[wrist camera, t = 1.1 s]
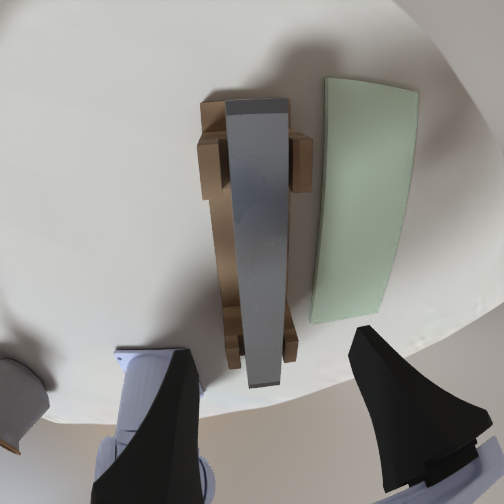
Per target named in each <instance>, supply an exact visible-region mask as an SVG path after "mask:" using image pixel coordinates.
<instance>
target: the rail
mask: <svg viewBox="0 0 504 504" xmlns="http://www.w3.org/2000/svg"><path fill="white" fill-rule="evenodd" d="M225 116H226V132H227V147H228V162H229V176H230V189H231V203H232V215H233V228H234V240H235V252H236V264H237V275H238V287H239V298H240V309H241V319H242V330H243V340H244V350H245V360H246V369H247V377H248V385H249V389H250V388H259V387H267V386H274V385H280V375H281V361H282V346H283V330H284V312H285V291H286V267H287V235H288V171H289V143H288V99H284V98H254V99H234V100H225Z"/></svg>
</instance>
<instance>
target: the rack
mask: <svg viewBox="0 0 504 504" xmlns="http://www.w3.org/2000/svg"><path fill="white" fill-rule="evenodd" d="M200 110H201V123H202V135H201V137H200V140H199V142H198V144H197V152H198V162H199V172H200V181H201V190H202V198H203V200H208V199H209V205H210V213H211V222H212V230H213V238H214V246H215V254H216V262H217V269H218V277H219V284H220V291H221V298H222V305H223V319H224V336H225V351H226V356H227V361H228V367H229V369H240V368H241V362H240V356H243V355H245V350H244V340H243V330H242V319H241V309H240V298H239V287H238V275H237V264H236V252H235V240H234V228H233V215H232V203H231V189H230V176H229V162H228V147H227V132H226V116H225V101H215V102H205V103H200ZM288 143H289V171H288V235H287V267H286V291H285V312H284V330H283V346H282V356H283V360H284V363H288V362H295V361H296V357H297V349H298V341H299V340H298V337H297V334H296V331H295V327H294V324H293V321H292V317H291V314H290V311H289V308H288V304H287V301H286V298H287V277H288V251H289V217H290V190H291V191H292V193H301V192H311V188H312V161H313V139H311V138H309V137H307V136H305V135H303V134H301V133H299V132H297V131H295V130H293V129H292V128H290V99H288Z"/></svg>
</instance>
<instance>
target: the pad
mask: <svg viewBox="0 0 504 504" xmlns="http://www.w3.org/2000/svg"><path fill="white" fill-rule="evenodd" d="M417 115H418V92H414V91H410V90H406V89H401V88H397V87H392V86H387V85H381V84H376V83H370V82H363V81H356V80H349V79H340V78H331V77H326V78H325V133H324V163H323V183H322V200H321V214H320V226H319V238H318V249H317V259H316V268H315V277H314V286H313V294H312V302H311V309H310V316H309V321H310V324H317V323H324V322H330V321H335V320H341V319H347V318H352V317H357V316H362V315H367V314H372V313H377V312H378V310H379V307H380V304H381V301H382V298H383V295H384V291H385V288H386V285H387V282H388V278H389V275H390V271H391V268H392V264H393V260H394V256H395V253H396V249H397V245H398V240H399V236H400V232H401V227H402V223H403V218H404V213H405V208H406V203H407V197H408V192H409V186H410V179H411V173H412V166H413V158H414V149H415V140H416V129H417Z"/></svg>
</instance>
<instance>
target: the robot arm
mask: <svg viewBox="0 0 504 504" xmlns="http://www.w3.org/2000/svg"><path fill="white" fill-rule="evenodd" d="M113 355H114V357H115V358H116V360H117V361H118V363H119V365H120V366H121V368H122V369H123V371H124V372H125V378H124V384H123V389H122V395H121V400H120V406H119V413H118V419H117V427H116V434H115V436H114V437H111V436H107V437H106V438H104V439H102V440H101V442H100V445H99V449H98V454H97V460H96V467H95V482H94V483H93V488H92V492H91V504H211V503H212V501H213V499H214V495H215V477H214V473H213V470H212V468H211V466H210V465H209V463H208V462H207V460H206V459H205V458H203V457H201V456H199V448H198V421H199V402H200V398H201V397H203V396H204V393H203V390H202V388H201V385H200V382H199V375H198V372H197V369H196V366H195V363H194V360H193V358H192V355H191V352H190V349H166V350H115V351H114V354H113ZM348 357H349V361H350V364H351V368H352V371H353V375H354V377H355V380H356V382H357V385H358V387H359V389H360V391H361V394H362V396H363V399H364V401H365V404H366V406H367V408H368V411H369V413H370V417H371V419H372V423H373V427H374V431H375V435H376V439H377V444H378V449H379V454H380V460H381V467H382V476H383V488H384V491H385V493H387V492H390V491H392V490H395V489H397V488H399V487H402V486H404V485H406V484H408V485H409V488H408V489H406V490H404V491H402V492H400V493H397V494H395V495H393V496H390V497H388V498H385V499H383V500H380V501H378V502H375V503H372V504H473V503H474V502H475V501H476V500H477V499H478V498H479V497H480V496H481V495H482V494H483V493H485V492H486V491H487V490H488V489H489V488H490V487H491V486H492V485H493V484H494V483H495V482H496V481H497V480H498V479H500V478H501V477H502V476H503V475H504V455H503V452H502V450H501V448H500V445H499V443H498V441H497V438H496V436H493V437H491V438H490V439H489V440H487V441H486V442H485V443H483V444H482V445H481V446H479V447H478V448H476V447H475V445H476V444H477V440H476V438H477V437H478V436H479V435H480V434H482V433H483V432H484V431H486V430H487V429H488V428H490V427H491V426H492V424H493V422H492V421H491V418H490V416H489V414H488V412H487V411H486V410H485V409H482V408H480V407H477V406H474V405H472V404H470V403H467V402H465V401H463V400H461V399H459V398H457V397H455V396H453V395H452V394H450V393H448V392H447V391H445V390H443V389H442V388H440V387H439V386H437V385H436V384H434V383H433V382H431V381H430V380H429V379H427V378H426V377H424V376H423V375H422V374H421V373H419V372H418V371H417V370H416V369H415V368H414V367H412V366H411V365H410V364H409V363H408V362H407V361H405V359H404V358H402V357H401V356H400V355H399V354H398V353H397V352H396V351H395V350H394V349H393V348H392V347H391V346H390V345H389V344H388V343H387V342H386V341H385V340H384V339H383V338H382V337H381V336H380V335H379V334H378V333H377V332H376V331H375V330H374V329H373V328H372V327H371V326H370V325H367V326H362V327H357V330H356V333H355V336H354V339H353V342H352V345H351V348H350V351H349V354H348Z"/></svg>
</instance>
